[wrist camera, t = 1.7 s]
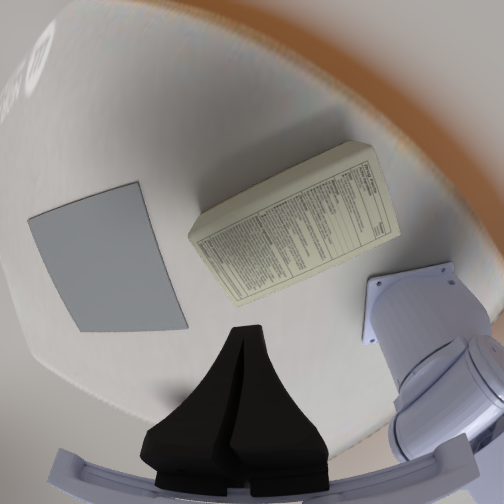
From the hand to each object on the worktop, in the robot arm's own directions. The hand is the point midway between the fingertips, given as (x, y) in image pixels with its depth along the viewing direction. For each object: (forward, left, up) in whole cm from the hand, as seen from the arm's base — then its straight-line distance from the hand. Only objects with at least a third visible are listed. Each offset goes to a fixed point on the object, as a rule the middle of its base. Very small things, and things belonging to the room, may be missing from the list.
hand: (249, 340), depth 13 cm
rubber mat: (+14, 0, -10) cm, 17 cm away
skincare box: (+3, -1, -7) cm, 8 cm away
